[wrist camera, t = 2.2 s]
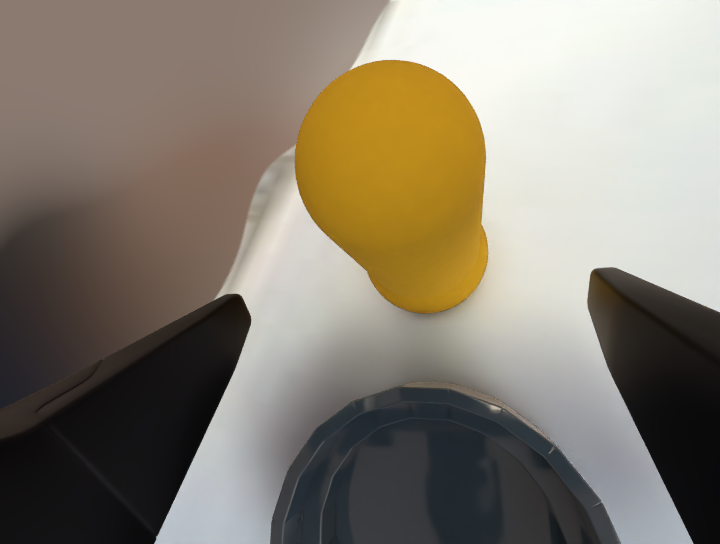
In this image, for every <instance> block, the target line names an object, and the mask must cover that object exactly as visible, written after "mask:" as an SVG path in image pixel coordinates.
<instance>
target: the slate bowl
mask: <svg viewBox="0 0 720 544" xmlns="http://www.w3.org/2000/svg"><path fill="white" fill-rule="evenodd" d="M272 519H273V520H272V523H271V539H270V544H621V542H620V540H619V538H618V536H617V534H616V531H615V529H614V527H613V525H612V523H611V520H610V518H609V516H608V514H607V512H606V509H605V507H604V505H603V504H602V503H601V500H600V499H599V497H598V496H597V495H596V494H595V493H594V491H593V490H592V489H591V488H590V486H589V485H588V484H587V483H586V482H585V480H584V479H583V478H582V477H581V475H580V474H579V473H578V472H577V471H576V469H575V468H574V467H573V466H572V464H571V463H570V462H569V461H568V459H567V458H566V457H565V456H564V455H563V453H562V452H561V451H560V450H559V448H558V447H557V446H556V445H555V444H554V443H553V442H552V441H551V440H550V439H548V438H547V437H546V436H545V435H544V434H543V433H542V432H541V431H540V430H539V429H538V428H537V427H536V426H535V425H533V424H532V423H530V422H529V421H528V420H526V419H525V418H523V417H522V416H521V415H519V414H518V413H516V412H515V411H514V410H512V409H511V408H509V407H508V406H507V405H505V404H504V403H502V402H501V401H500V400H498V399H496V398H494V397H491V396H489V395H486V394H483V393H480V392H477V391H474V390H471V389H469V388H466V387H463V386H460V385H457V384H453V383H426V382H412V383H408V384H405V385H402V386H398V387H395V388H392V389H389V390H386V391H383V392H380V393H376V394H373V395H370V396H367V397H364V398H361V399H357V400H354V401H353V402H351V403H350V404H348V405H347V406H346V407H344V408H343V409H342V410H340V411H339V412H338V413H336V414H335V415H334V416H332V417H331V418H330V419H328V420H327V421H326V422H324V423H323V424H322V425H320V426H319V427H318V428H317V429H316V430H315V431H314V432H313V434H312V435H311V437H310V438H309V440H308V441H307V443H306V444H305V446H304V447H303V448H302V450H301V451H300V453H299V454H298V456H297V457H296V459H295V460H294V461H293V463H292V464H291V466H290V467H289V470H288V471H287V475H286V478H285V481H284V484H283V487H282V490H281V493H280V496H279V499H278V502H277V505H276V508H275V511H274V514H273V517H272Z"/></svg>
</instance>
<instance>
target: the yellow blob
mask: <svg viewBox="0 0 720 544" xmlns="http://www.w3.org/2000/svg"><path fill="white" fill-rule="evenodd" d="M485 163H486V152H485V141H484V136H483V132H482V128H481V125H480V122H479V119H478V117H477V115H476V113H475V110H474V109H473V107H472V106H471V104H470V102H469V101H468V99H467V98H466V96H465V95H464V94H463V93H462V92H461V90H460V89H459V88H458V87H457V86H456V85H455V84H453V83H452V82H451V81H450V80H449V79H447V78H446V77H445V76H444V75H442V74H440V73H438V72H437V71H435V70H433V69H431V68H429V67H426V66H423V65H421V64H418V63H414V62H409V61H400V60H383V61H375V62H371V63H367V64H364V65H361V66H358V67H356V68H354V69H352V70H350V71H348V72H346V73H345V74H343V75H341V76H339V77H338V78H337V79H335V80H334V81H333V82H331V83H330V84H329V85H328V86H327V87H326V88H325V89H324V90H323V91H322V92H321V93H320V94H319V96H318V97H317V98H316V100H315V101H314V102H313V104H312V106H311V107H310V109H309V111H308V113H307V114H306V116H305V118H304V120H303V123H302V125H301V128H300V131H299V135H298V139H297V144H296V149H295V173H296V180H297V184H298V189H299V192H300V196H301V198H302V201H303V203H304V205H305V207H306V209H307V211H308V213H309V214H310V216H311V218H312V219H313V220H314V222H315V223H316V224H317V225H318V227H319V228H320V229H321V230H322V231H323V232H324V233H325V234H326V235H327V236H328V237H329V238H330V239H331V240H333V241H334V242H335V243H336V244H337V245H338V246H339V247H340V248H342V249H343V250H344V251H345V252H346V253H347V254H348V255H349V256H351V257H352V258H353V259H354V260H355V261H356V262H357V263H358V264H359V265H361V266H362V267H363V268H364V269H365V270H366V271H367V272H368V275H369V277H370V280H371V282H372V283H373V285H374V287H375V288H376V289H377V290H378V292H379V293H380V294H381V295H382V296H383V297H384V298H385V299H386V300H388V301H389V302H390V303H392V304H394V305H395V306H397V307H399V308H402V309H404V310H407V311H411V312H415V313H436V312H441V311H444V310H447V309H450V308H452V307H454V306H456V305H458V304H459V303H461V302H463V301H464V300H465V299H466V298H467V297H469V296H470V294H471V293H472V292H473V291H474V290H475V289H476V287H477V286H478V284H479V283H480V281H481V279H482V277H483V275H484V272H485V269H486V266H487V260H488V244H487V238H486V234H485V231H484V229H483V226H482V225H481V219H482V205H483V192H484V178H485Z"/></svg>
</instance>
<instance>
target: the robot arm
mask: <svg viewBox="0 0 720 544" xmlns="http://www.w3.org/2000/svg"><path fill="white" fill-rule="evenodd" d="M587 303H588V309H589V313H590V316H591V319H592V322H593V325H594V328H595V331H596V334H597V337H598V340H599V343H600V346H601V349H602V352H603V355H604V358H605V360H606V363H607V366H608V368H609V371H610V373H611V375H612V377H613V379H614V381H615V384H616V386H617V388H618V390H619V392H620V394H621V396H622V398H623V400H624V402H625V404H626V406H627V408H628V410H629V412H630V414H631V416H632V418H633V420H634V422H635V425H636V427H637V429H638V431H639V433H640V435H641V437H642V439H643V441H644V443H645V445H646V447H647V449H648V451H649V453H650V455H651V457H652V459H653V461H654V463H655V466H656V468H657V470H658V472H659V474H660V476H661V478H662V480H663V482H664V484H665V486H666V488H667V490H668V492H669V494H670V496H671V498H672V500H673V502H674V504H675V507H676V509H677V511H678V513H679V515H680V517H681V519H682V521H683V523H684V525H685V527H686V529H687V531H688V533H689V535H690V537H691V539H692V541H693V543H694V544H720V312H717V311H715V310H713V309H710V308H708V307H706V306H703V305H701V304H699V303H696V302H694V301H692V300H689V299H687V298H685V297H682V296H680V295H678V294H675V293H673V292H671V291H668V290H666V289H664V288H661V287H659V286H657V285H654V284H652V283H650V282H647V281H645V280H643V279H640V278H638V277H636V276H633V275H631V274H629V273H626V272H624V271H622V270H619V269H617V268H613V267H610V268H597V269H594V270H593V271H592V272H591V275H590V283H589V291H588V299H587ZM250 325H251V316H250V313H249V311H248V309H247V307H246V304H245V302H244V300H243V298H242V296H241V295H239V294H227V295H224V296H222V297H220V298H218V299H216V300H214V301H212V302H210V303H209V304H207V305H205V306H203V307H201V308H199V309H197V310H195V311H193V312H191V313H189V314H188V315H186V316H184V317H182V318H180V319H178V320H176V321H174V322H172V323H170V324H169V325H167V326H165V327H163V328H161V329H159V330H157V331H155V332H153V333H151V334H149V335H147V336H146V337H144V338H142V339H140V340H138V341H136V342H134V343H132V344H130V345H128V346H127V347H125V348H123V349H121V350H119V351H117V352H115V353H113V354H111V355H109V356H108V357H106V358H105V359H104V360H100V361H98V362H96V363H94V364H92V365H90V366H88V367H86V368H84V369H82V370H80V371H79V372H77V373H75V374H73V375H71V376H69V377H67V378H65V379H63V380H61V381H59V382H57V383H55V384H53V385H51V386H49V387H47V388H45V389H43V390H40V391H38V392H37V393H34V394H32V395H30V396H28V397H26V398H24V399H22V400H20V401H18V402H16V403H14V404H11V405H9V406H7V407H5V408H3V409H1V410H0V544H154V543H155V541H156V536H158V534H159V531H160V529H161V527H162V525H163V523H164V521H165V519H166V516H167V514H168V512H169V510H170V508H171V506H172V504H173V501H174V499H175V497H176V495H177V493H178V491H179V489H180V486H181V484H182V482H183V480H184V478H185V476H186V474H187V471H188V469H189V467H190V465H191V463H192V461H193V459H194V456H195V454H196V452H197V450H198V448H199V446H200V444H201V441H202V439H203V437H204V435H205V433H206V431H207V429H208V426H209V424H210V422H211V420H212V418H213V416H214V414H215V411H216V409H217V407H218V405H219V403H220V401H221V399H222V396H223V394H224V392H225V390H226V388H227V386H228V384H229V381H230V379H231V377H232V375H233V373H234V370H235V368H236V365H237V363H238V360H239V357H240V354H241V351H242V348H243V346H244V343H245V340H246V337H247V334H248V331H249V328H250Z"/></svg>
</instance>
